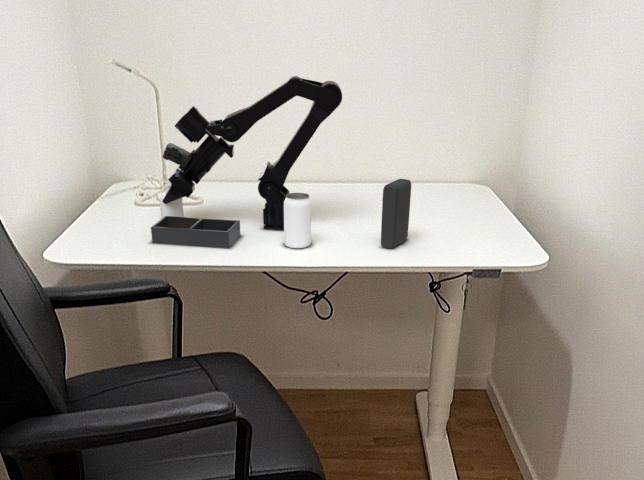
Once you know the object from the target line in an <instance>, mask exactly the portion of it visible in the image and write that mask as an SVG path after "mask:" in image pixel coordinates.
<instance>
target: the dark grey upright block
mask: <svg viewBox="0 0 644 480" xmlns="http://www.w3.org/2000/svg"><path fill="white" fill-rule="evenodd" d="M411 197H412V182H411V179H406V178H398V179H395V180H394V181H391V182H389V183H387V184H384V186H383V189H382V207H381V228H380V229H381V230H380V245H381V247H382V248H387V249H394V248H395V247H397V246H399V245H400V244H403V242H405V241H407V239H408V236H409V234H408V233H409V223H410V212H411V211H410V210H411Z"/></svg>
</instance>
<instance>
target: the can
mask: <svg viewBox="0 0 644 480" xmlns="http://www.w3.org/2000/svg"><path fill="white" fill-rule="evenodd" d="M283 241H284V243H283V244H284V245H285V247H287V248H288V249H296V250H299V249H306V248H309V247H310V245H311V244H312V201H311V199H310V195H309V194H308V193H304V192H290V193H289V194H286V198H285V200H284V230H283Z"/></svg>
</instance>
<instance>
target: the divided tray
mask: <svg viewBox="0 0 644 480" xmlns="http://www.w3.org/2000/svg"><path fill="white" fill-rule="evenodd" d="M150 233H151V243H152V244H159V245H173V246H188V247H191V246H192V247H204V248H217V249H219V248H220V249H230V248H231V247H232V246H233V245H234V244H235V243H236V242H237V241H238V239H239V238H240V237H241V220H239V219H238V220H237V219H222V218H207V217H206V218H204V217H192V216H191V217H189V216H184V217H175V216H165V217H163V218H162V219H161V218H160V219H159V220H158V221H157V222H156V223H154V224H153V225H152V226H150Z"/></svg>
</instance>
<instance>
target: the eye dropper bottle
mask: <svg viewBox="0 0 644 480" xmlns="http://www.w3.org/2000/svg"><path fill="white" fill-rule="evenodd" d="M170 187H171V182H170V181H169V178H167V181H166V183H165V184H164V192H165V193H163V194H161V195H160V196H159V209H160V220H161V219H162V218H163V217H165V216H175V217H185V216H184V203H183V197H182V198H179V199H177V200H174V201H172V202H170V203H167V204H165V203H163V199H164V197H165V196H166V194H167V192H168V190H169V189H170Z"/></svg>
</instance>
